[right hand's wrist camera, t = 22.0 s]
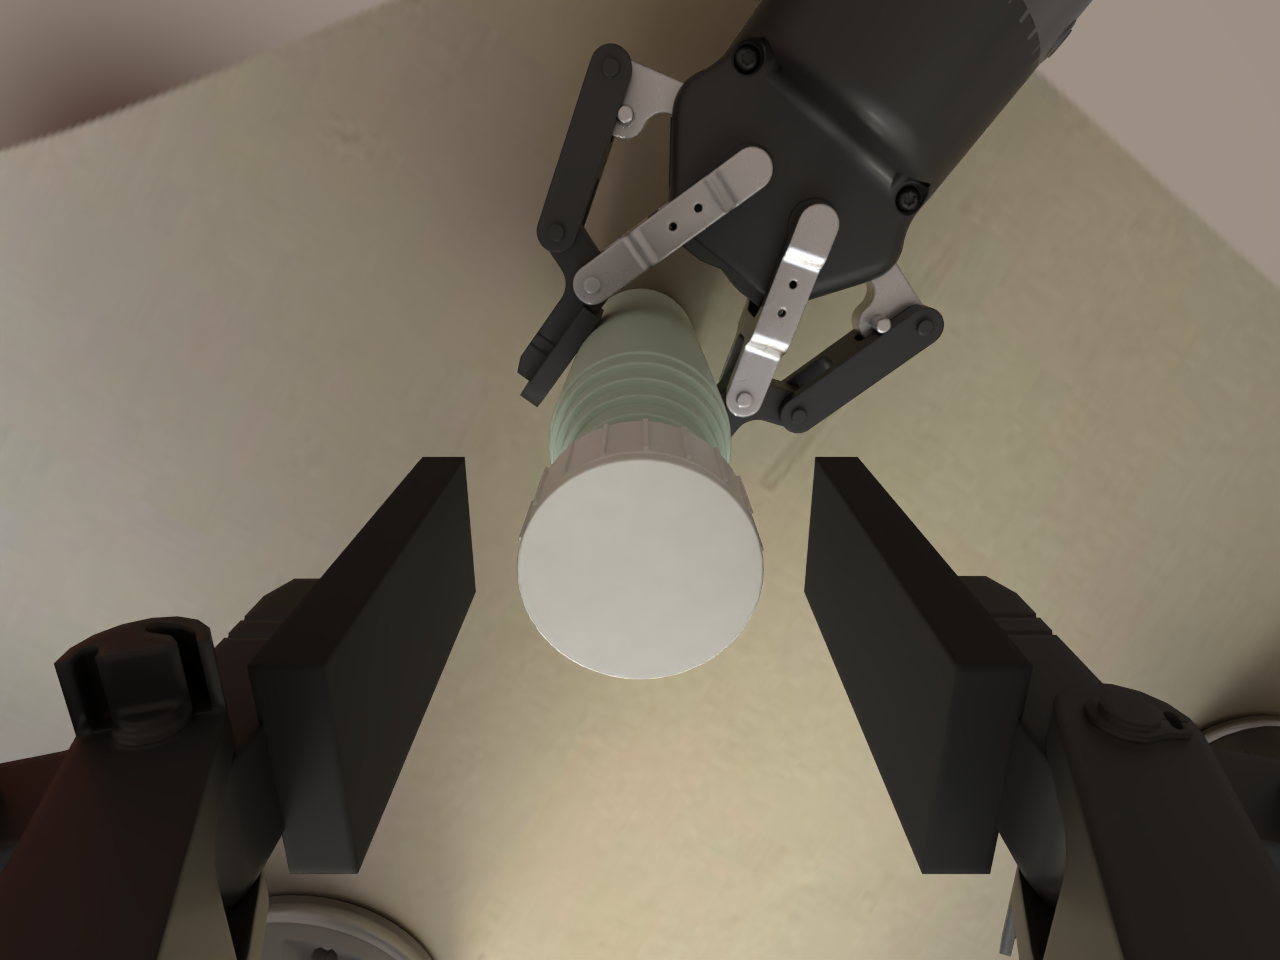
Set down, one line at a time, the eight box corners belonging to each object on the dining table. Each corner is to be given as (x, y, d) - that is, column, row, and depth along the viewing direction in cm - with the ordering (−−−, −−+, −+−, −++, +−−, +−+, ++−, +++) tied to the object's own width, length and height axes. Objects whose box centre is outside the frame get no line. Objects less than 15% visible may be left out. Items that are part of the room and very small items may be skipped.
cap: (488, 528, 14) (462, 582, 12) (634, 370, 13) (633, 401, 11) (645, 653, 15) (645, 723, 13) (793, 514, 14) (819, 567, 12)
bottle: (563, 346, 32) (452, 559, 13) (637, 264, 31) (634, 367, 12) (642, 418, 33) (645, 711, 14) (717, 341, 32) (829, 548, 13)
